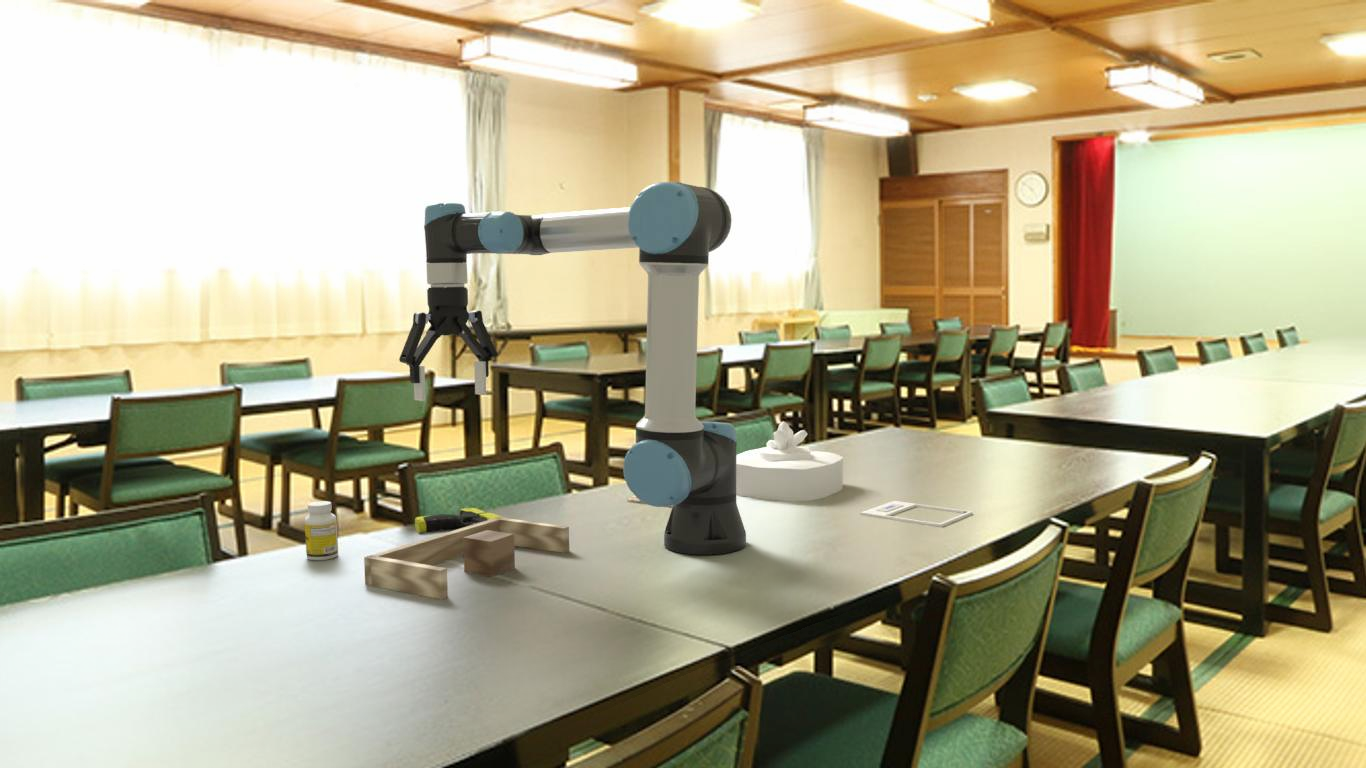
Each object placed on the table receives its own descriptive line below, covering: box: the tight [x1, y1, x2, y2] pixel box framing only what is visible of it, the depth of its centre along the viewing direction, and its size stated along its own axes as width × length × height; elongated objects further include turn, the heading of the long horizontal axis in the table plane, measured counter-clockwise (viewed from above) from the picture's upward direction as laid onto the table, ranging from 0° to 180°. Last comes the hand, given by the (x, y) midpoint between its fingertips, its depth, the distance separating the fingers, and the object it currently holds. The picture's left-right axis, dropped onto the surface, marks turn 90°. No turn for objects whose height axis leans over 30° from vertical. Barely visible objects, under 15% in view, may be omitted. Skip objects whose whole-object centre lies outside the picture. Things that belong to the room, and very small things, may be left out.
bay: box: [363, 516, 570, 600], centre depth 180 cm, size 16×33×4 cm, turn 149°
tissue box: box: [736, 420, 844, 502], centre depth 245 cm, size 25×25×16 cm
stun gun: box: [414, 507, 505, 534], centre depth 206 cm, size 3×19×15 cm
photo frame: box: [859, 500, 973, 528], centre depth 218 cm, size 15×1×18 cm
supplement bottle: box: [304, 500, 339, 561], centre depth 188 cm, size 5×5×10 cm
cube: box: [463, 530, 516, 577], centre depth 178 cm, size 6×6×6 cm
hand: (451, 397), depth 201 cm, fingers open, 13 cm apart
